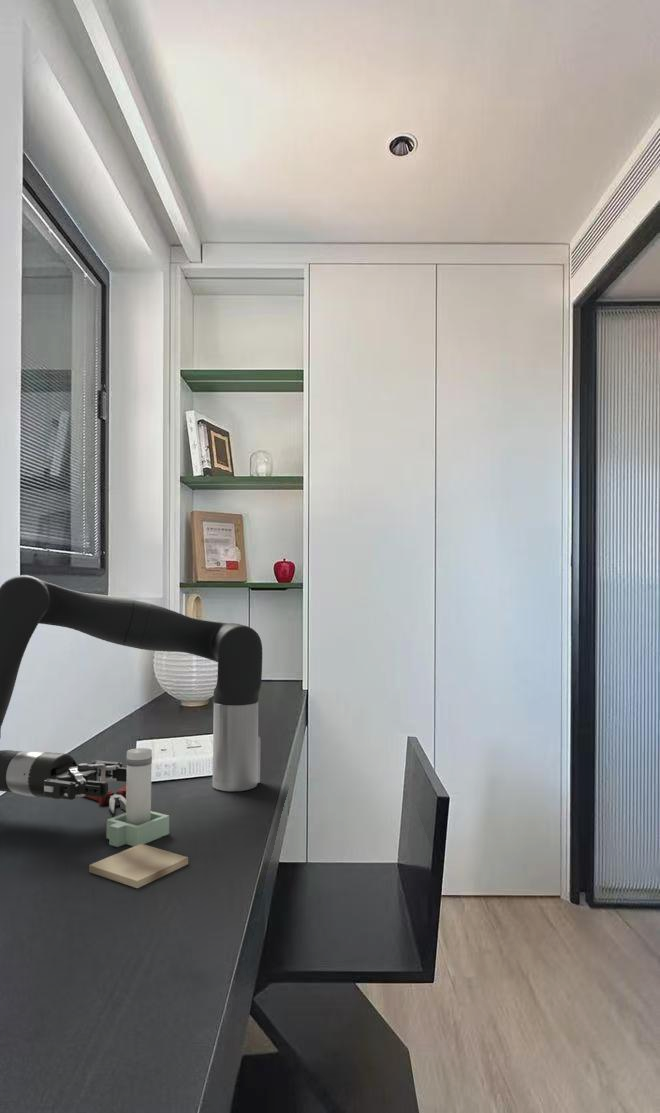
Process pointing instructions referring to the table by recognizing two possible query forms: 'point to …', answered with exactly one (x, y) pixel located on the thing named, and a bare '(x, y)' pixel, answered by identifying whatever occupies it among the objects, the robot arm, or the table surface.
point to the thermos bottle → (138, 786)
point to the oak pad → (138, 865)
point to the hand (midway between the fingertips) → (122, 782)
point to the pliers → (112, 799)
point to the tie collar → (136, 830)
